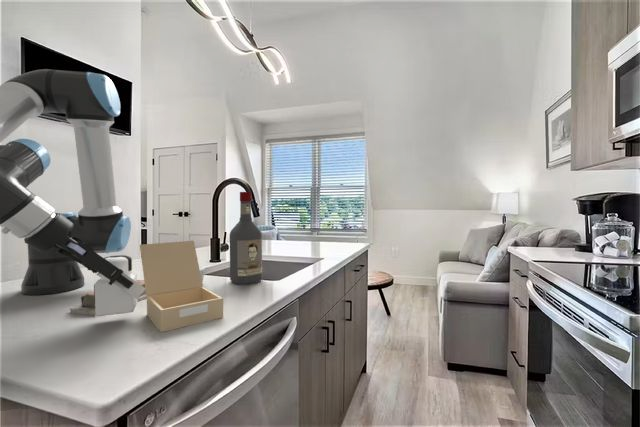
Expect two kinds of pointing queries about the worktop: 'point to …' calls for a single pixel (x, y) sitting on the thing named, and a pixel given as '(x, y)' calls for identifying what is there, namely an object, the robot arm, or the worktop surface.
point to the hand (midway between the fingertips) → (132, 289)
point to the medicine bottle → (114, 290)
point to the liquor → (245, 246)
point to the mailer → (176, 286)
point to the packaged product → (89, 302)
